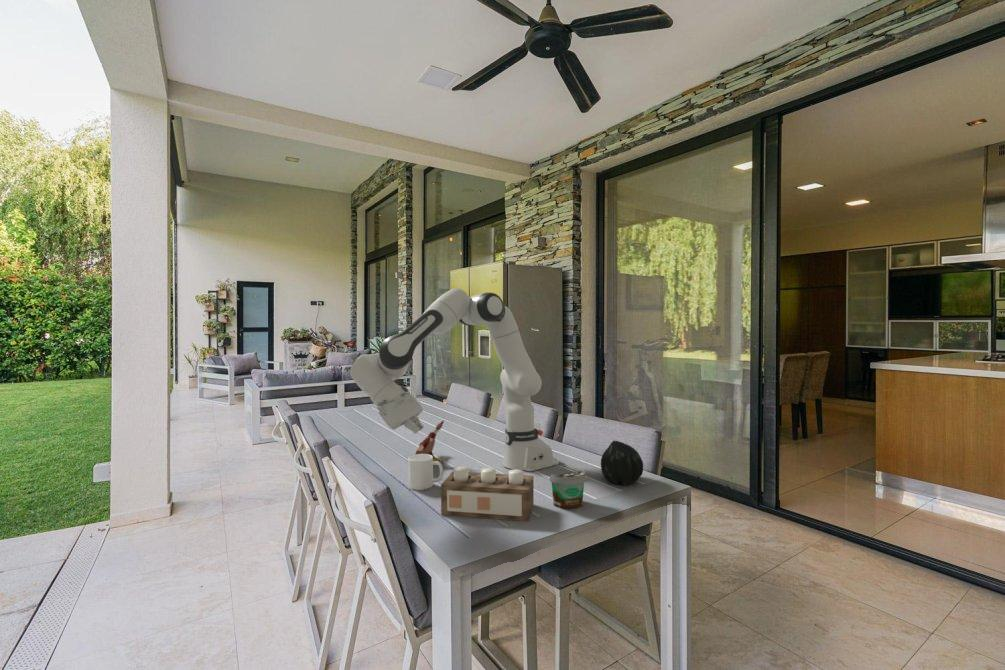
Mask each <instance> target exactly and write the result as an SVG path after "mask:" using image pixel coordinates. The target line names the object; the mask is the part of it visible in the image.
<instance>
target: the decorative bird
mask: <svg viewBox="0 0 1005 670" xmlns="http://www.w3.org/2000/svg"><path fill="white" fill-rule="evenodd" d="M444 423H445V421H444V420H441V422H439V423H437V425H436V426H435V428H434V429H433V430H432V431H431V432H429V434H428V435H426V437H425V438H424V439H423V440H422V441H421V442H419V445H418V448H417V450H416V451H415V454H414V455H416V454H429V455H432V456H433V461H438V462H440V463H441V464H442V463H443V461H444V459H439V458H438V457H436V456H435V455H434V453H433V450H434V446H435V444H436V443H435V442H436V436H437V434H438V433H439V431H440V430H441V428H442V427H443V425H444Z"/></svg>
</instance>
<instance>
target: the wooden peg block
mask: <svg viewBox="0 0 1005 670" xmlns="http://www.w3.org/2000/svg"><path fill="white" fill-rule="evenodd" d="M523 475H524V485H510V484H509V473H508V474H506V473H496V483H495V484H493V483H481V472H472V471H468V482H459V481H454V470H453V471H452V472H450V474H449V475H448V476H446V478H445V479H444V480H443V482H442V483H441V484H440V508H441V509H440V510H441V512H440V513H441V516H453V517H455V516H456V517H468V518H482V519H495V520H497V519H498V520H508V521H510V520H511V521H522V522H530V518H531V514H532V511H533V507H534V491H535V489H534V486H535V485H534V475H528V474H527V475H526V474H523ZM447 490H454V491H470V492H486V493H501V494H517V495H522V516H512V515H498V514H483V513H469V512H455V511H447Z"/></svg>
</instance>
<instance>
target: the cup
mask: <svg viewBox="0 0 1005 670" xmlns="http://www.w3.org/2000/svg"><path fill="white" fill-rule="evenodd" d="M415 454H416V453H415ZM415 454H413V455H410V456H408V460H407V461H408V487H409V488H410V489H411V490H413V489H415V490H414V491H423V490H422V489H426V490H429V489H431V488H432V487H433V486H434V483H438V482H441V480H442V479H443V476H444V468H443V465H442V463H440V462H441V461H440V462H439V460H436V461H433V456H432V455H429V454H416V455H415ZM434 466H438V468H439V476H438V477H434ZM430 487H431V488H430ZM428 488H429V489H428Z"/></svg>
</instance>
